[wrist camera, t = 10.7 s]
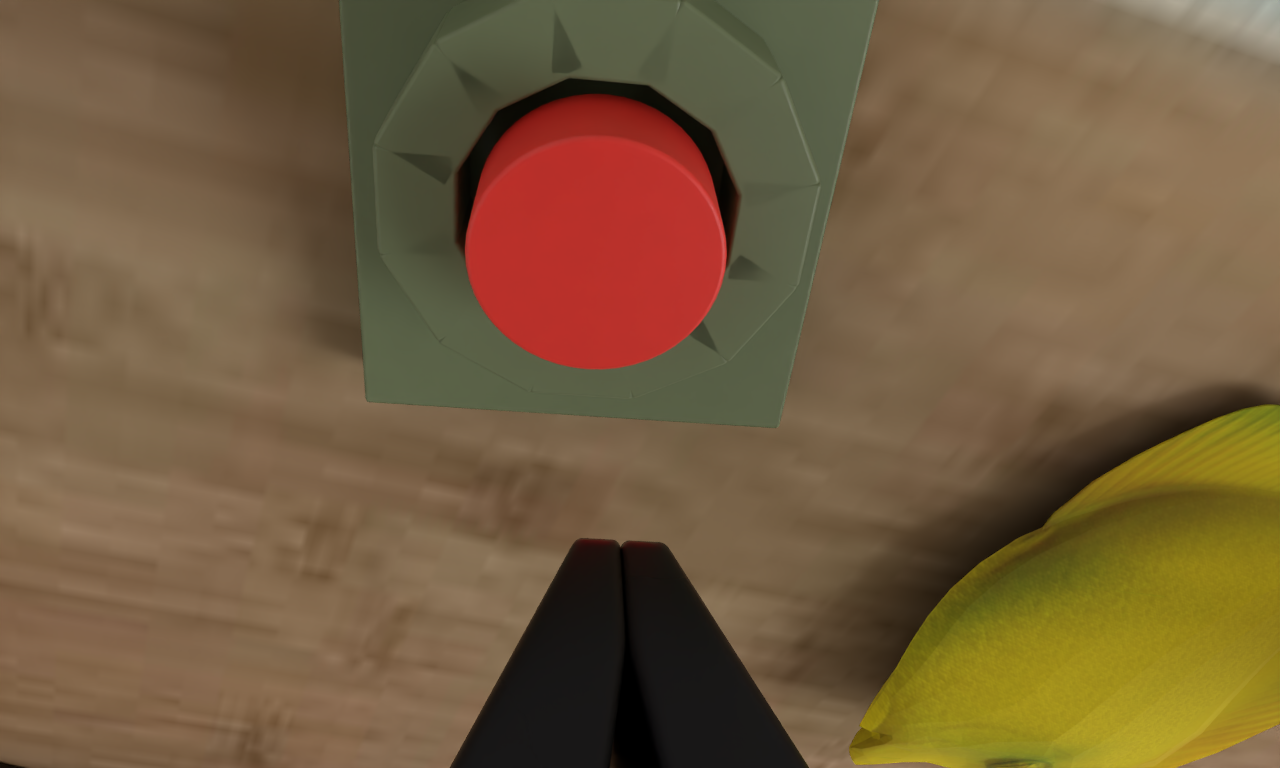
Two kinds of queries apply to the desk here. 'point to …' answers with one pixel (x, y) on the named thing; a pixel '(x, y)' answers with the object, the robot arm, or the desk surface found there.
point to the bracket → (6, 766)
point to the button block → (575, 65)
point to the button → (595, 233)
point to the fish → (1109, 623)
